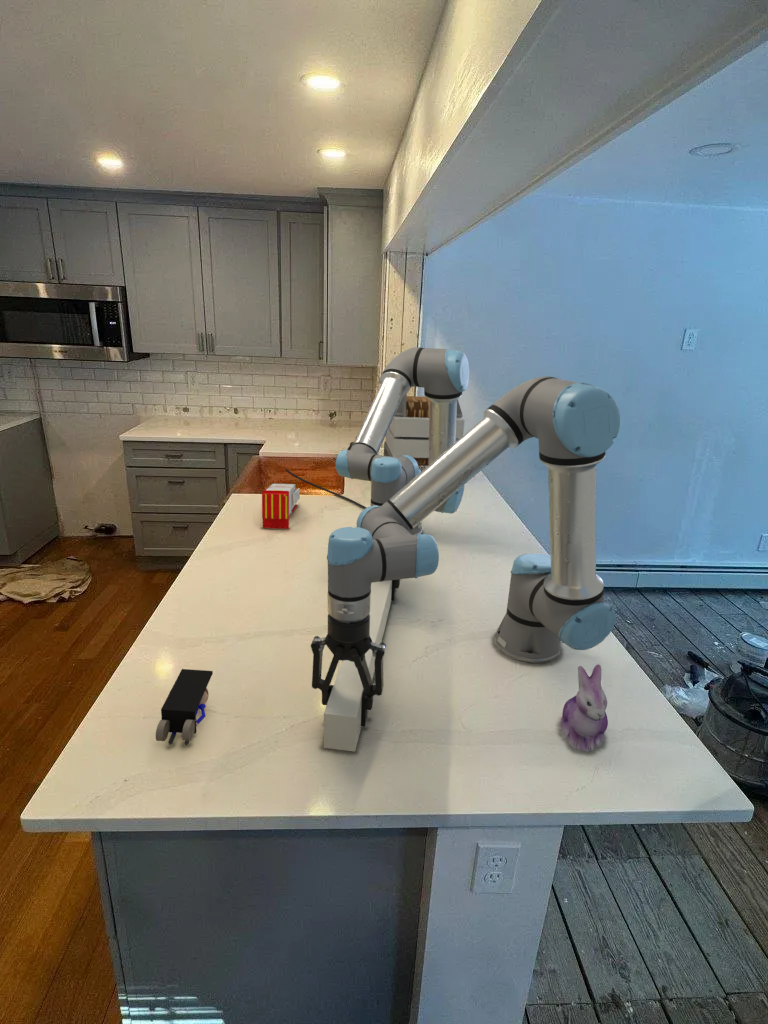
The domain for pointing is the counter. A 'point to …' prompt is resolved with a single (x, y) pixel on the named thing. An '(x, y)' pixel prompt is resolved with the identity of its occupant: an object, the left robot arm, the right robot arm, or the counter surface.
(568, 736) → the figurine
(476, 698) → the counter surface
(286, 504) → the toy
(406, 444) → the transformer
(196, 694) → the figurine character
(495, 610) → the counter surface
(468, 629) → the counter surface
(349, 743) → the bar
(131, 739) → the counter surface
